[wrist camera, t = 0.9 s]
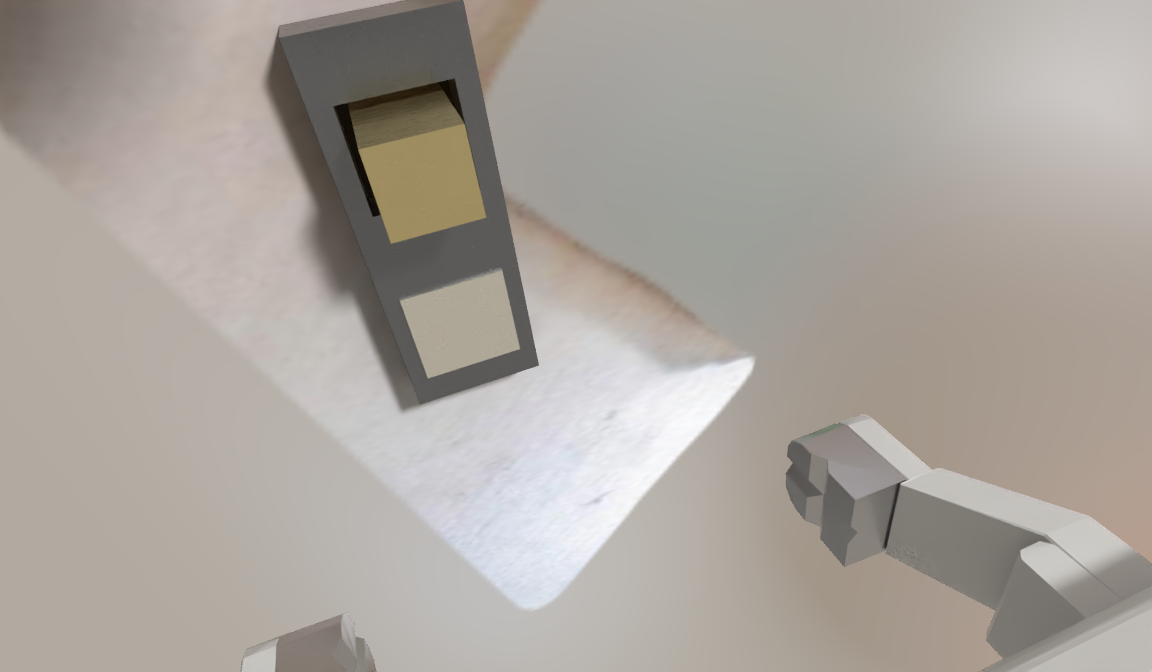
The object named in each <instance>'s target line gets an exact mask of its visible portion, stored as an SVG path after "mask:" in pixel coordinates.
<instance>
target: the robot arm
mask: <svg viewBox="0 0 1152 672" xmlns="http://www.w3.org/2000/svg"><path fill="white" fill-rule="evenodd" d="M787 457H788V458H789V459H790V460H791V461H792V462H793V464H792V465H791V466H790V468H789V469H788V471H787V472H786V488H787V491H788V494H789V496H790V500H791V501H792V503H793V504H794V506H795V508H796V510H797V511H798V512H799V513H800V515H801V516H802V517H803V519H804V520H805V521H808V522H810V523H813V524H815V525H818V526H820V538H821V540H822V541H823V542H824V544H825V545H826V546H827V547H828V548H829V549H830V551H831V552H832V553H833V554H834V555H835V556H836V558H837V559H838V560H839V561H840V563H841V564H842V565H843V566H844V567H846V566H848V565H851V564H853V563H856V562H858V561H861V560H863V559H866V558H868V557H871V556H873V555H876V554H878V553H881V552H883V551H886V552H885V553H886V554H888V555H890V556H892V557H894V558H895V559H897V560H899V561H901V562H903V563H905V564H907V565H909V566H911V567H913V568H914V569H916V570H918V571H920V572H922V573H924V574H926V575H928V576H930V577H932V578H934V579H936V580H938V581H940V582H941V583H944V584H945V585H947V586H949V587H951V588H953V589H955V590H957V591H959V592H961V593H963V594H965V595H967V596H968V597H970V598H972V599H974V600H976V601H978V602H980V603H982V604H984V605H986V606H988V607H990V608H992V609H993V610H995V613H994V615H993V618H992V620H991V623H990V625H989V627H988V630H987V638H986V641H987V642H988V643H989V644H990V645H991V646H992V647H993V648H994V649H995V651H996V652H998V654H999V655H1000V656H1001V657H1002V658H1003V660H1001V661H999V662H997V663H995V664H993V665H990V666H989V667H986V668H985V669H982V670H980V671H979V672H1152V563H1151V562H1150V561H1148V560H1147V559H1146V558H1144V557H1143V556H1142V555H1140V554H1139V553H1138V552H1136V551H1135V550H1134V549H1132V548H1131V547H1130V546H1128V545H1127V544H1126V543H1124V542H1123V541H1122V540H1120V539H1119V538H1118V537H1116V536H1115V535H1114V534H1112V533H1111V532H1110V531H1109V530H1107V529H1106V528H1104V527H1103V526H1102V525H1101V524H1099V523H1098V522H1097V521H1095V520H1094V519H1092V518H1091V517H1090V516H1087V515H1084V514H1081V513H1077V512H1075V511H1071V510H1068V509H1065V508H1062V507H1059V506H1056V505H1053V504H1050V503H1047V502H1044V501H1041V500H1037V499H1034V498H1031V497H1028V496H1025V495H1022V494H1019V493H1016V492H1013V491H1010V490H1007V489H1004V488H1001V487H998V486H994V485H991V484H988V483H985V482H982V481H979V480H976V479H973V478H970V477H966V476H964V475H961V474H957V473H954V472H951V471H948V470H945V469H942V468H936V469H934V470H931V469H930V468H929V467H928V466H927V465H926V464H924V463H923V462H922V461H921V460H920V459H919V458H917V457H916V456H915V455H914V454H913V453H912V452H911V451H909V450H908V449H907V448H906V447H905V446H903V445H902V444H901V443H900V442H899V441H898V440H897V439H895V438H894V437H893V436H892V435H891V434H890V433H888V432H887V431H886V430H885V429H884V428H882V427H881V426H880V425H879V424H878V423H877V422H876V421H874V420H873V419H872V418H871V417H869V416H867V415H864V414H861V415H858V416H855V417H853V418H850V419H848V420H845V421H843V422H840V423H838V424H833V425H830V426H828V427H826V428H823V429H820V430H818V431H816V432H813V433H810V434H808V435H805V436H803V437H801V438H798V439H795V440H793V441H791V443H790V444H789V446H788V452H787ZM241 672H376V667H375V663H374V659H373V656H372V654H371V651H370V649H369V647H368V645H367V644H366V641H365V640H364V639H362V638H359V637H355V624H354V622H353V621H352V619H351V618H350V616H349V615H348V613H345V614H342V615H339V616H336V617H334V618H331V619H328V620H325V621H322V622H319V623H317V624H314V625H311V626H308V627H305V628H303V629H300V630H297V631H294V632H291V633H288V634H286V635H283V636H280V637H277V638H275V639H272V640H269V641H267V642H264V643H261V644H259V645H256V646H254V647H251V648H248V649H247V650H246V652H245V655H244V657H243V660H242V664H241Z"/></svg>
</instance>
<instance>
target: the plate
mask: <svg viewBox="0 0 1152 672" xmlns="http://www.w3.org/2000/svg"><path fill="white" fill-rule="evenodd" d="M279 40H280V43H281V45H282V48H283V51H284V53H285V56H286V58H287V61H288V64H289V66H290V69H291V71H292V74H293V76H294V79H295V82H296V84H297V87H298V89H299V92H300V95H301V97H302V100H303V102H304V105H305V107H306V110H307V113H308V115H309V118H310V120H311V123H312V126H313V128H314V131H315V133H316V136H317V138H318V141H319V144H320V146H321V149H322V151H323V154H324V157H325V159H326V162H327V164H328V167H329V170H330V172H331V175H332V177H333V180H334V182H335V185H336V188H337V190H338V193H339V195H340V198H341V201H342V203H343V206H344V208H345V211H346V213H347V216H348V219H349V221H350V224H351V226H352V229H353V232H354V234H355V237H356V239H357V242H358V244H359V247H360V250H361V252H362V255H363V257H364V260H365V263H366V265H367V268H368V270H369V273H370V276H371V278H372V281H373V283H374V286H375V288H376V291H377V294H378V296H379V299H380V301H381V304H382V307H383V309H384V312H385V314H386V317H387V319H388V322H389V325H390V327H391V330H392V332H393V335H394V338H395V340H396V343H397V345H398V348H399V350H400V353H401V356H402V358H403V361H404V363H405V366H406V369H407V371H408V374H409V376H410V379H411V382H412V384H413V387H414V389H415V392H416V394H417V397H418V400H419V402H420V404H422V403H426V402H429V401H432V400H435V399H438V398H441V397H444V396H447V395H450V394H453V393H456V392H459V391H462V390H465V389H468V388H471V387H474V386H477V385H481V384H484V383H487V382H490V381H493V380H496V379H499V378H502V377H505V376H508V375H511V374H514V373H517V372H520V371H523V370H526V369H529V368H533V367H536V366H539V364H538V359H537V354H536V349H535V345H534V340H533V335H532V330H531V325H530V320H529V316H528V311H527V306H526V301H525V296H524V291H523V287H522V282H521V277H520V272H519V267H518V262H517V258H516V253H515V248H514V243H513V238H512V233H511V229H510V224H509V219H508V214H507V209H506V204H505V200H504V195H503V190H502V185H501V180H500V176H499V171H498V166H497V161H496V157H495V152H494V147H493V142H492V137H491V132H490V127H489V122H488V118H487V113H486V108H485V103H484V98H483V93H482V89H481V84H480V79H479V74H478V69H477V64H476V60H475V55H474V50H473V45H472V40H471V35H470V31H469V26H468V21H467V16H466V11H465V6H464V2H463V0H405V1H400V2H395V3H390V4H385V5H380V6H375V7H370V8H365V9H360V10H355V11H350V12H345V13H340V14H335V15H330V16H326V17H321V18H316V19H311V20H306V21H301V22H296V23H291V24H286V25H281V26H279ZM445 80H449V84H450V88H451V92H452V97H453V101H454V105H455V109H456V111H457V113H458V114H459V116H460V117H461V119H462V121H463V122H464V124H465V128H466V132H467V136H468V141H469V145H470V149H471V154H472V158H473V162H474V167H475V171H476V175H477V180H478V184H479V188H480V193H481V197H482V201H483V205H484V210H485V214H486V218H483V219H480V220H476V221H472V222H469V223H465V224H461V225H458V226H454V227H450V228H447V229H443V230H440V231H436V232H432V233H429V234H425V235H421V236H418V237H414V238H410V239H407V240H403V241H400V242H396V243H392V244H391V242H390V239H389V236H388V233H387V231H386V228H385V225H384V222H383V219H382V216H381V213H380V210H379V208H378V205H377V202H376V199H375V196H372V197H368V195H367V192H366V190H365V187H364V184H363V181H362V178H361V176H360V173H359V170H358V167H357V164H356V162H355V159H354V156H353V153H352V150H351V147H350V145H349V142H348V139H347V136H346V133H345V131H344V128H343V125H342V122H341V119H340V117H339V114H338V111H337V108H336V105H340V104H345V103H349V102H353V101H358V100H362V99H367V98H371V97H375V96H380V95H384V94H388V93H393V92H397V91H401V90H406V89H410V88H415V87H419V86H423V85H428V84H432V83H436V82H441V81H445Z"/></svg>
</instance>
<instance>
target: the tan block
mask: <svg viewBox="0 0 1152 672" xmlns="http://www.w3.org/2000/svg"><path fill="white" fill-rule="evenodd" d="M348 107H349V111H350V116H351V120H352V124H353V129H354V133H355V138H356V142H357V146H358V150H359V153H360V156H361V159H362V162H363V165H364V168H365V170H366V173H367V176H368V179H369V182H370V185H371V188H372V190H373V193H374V196H375V199H376V202H377V205H378V208H379V210H380V213H381V216H382V219H383V222H384V225H385V228H386V231H387V233H388V236H389V239H390V242H391V244H392V243H396V242H400V241H403V240H407V239H410V238H414V237H418V236H421V235H425V234H429V233H432V232H436V231H440V230H443V229H447V228H450V227H454V226H458V225H461V224H465V223H469V222H472V221H476V220H480V219H483V218H486V214H485V210H484V205H483V201H482V197H481V193H480V188H479V184H478V180H477V175H476V171H475V167H474V162H473V158H472V154H471V149H470V145H469V141H468V136H467V132H466V128H465V124H464V122H463V121H462V119H461V117H460V116H459V114H458V113H457V111H456V110H455V108H454V107H453V105H452V103H451V102H450V100H449V99H448V97H447V96H446V94H445V93H444V91H443V90H442V88H441V86H440V85H439V83H438V82H436V83H432V84H428V85H423V86H419V87H415V88H410V89H406V90H401V91H397V92H393V93H388V94H384V95H380V96H375V97H371V98H367V99H362V100H358V101H353V102H349V103H348Z"/></svg>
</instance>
